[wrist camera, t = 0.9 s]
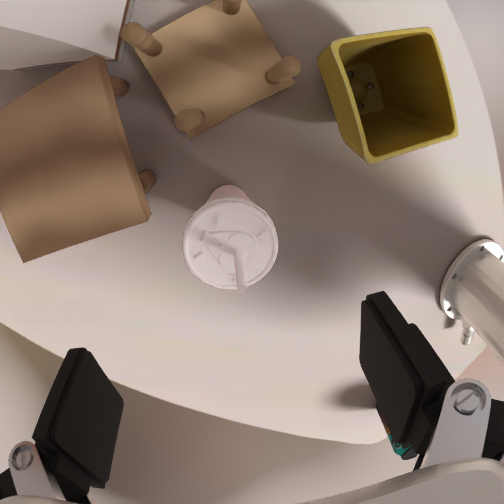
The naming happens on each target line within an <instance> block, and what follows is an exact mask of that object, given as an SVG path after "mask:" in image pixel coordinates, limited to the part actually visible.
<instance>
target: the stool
mask: <svg viewBox="0 0 504 504" xmlns="http://www.w3.org/2000/svg"><path fill="white" fill-rule="evenodd" d="M128 89H129V84H128V82H127V81H126V80H123V79H118V78H114V77H109V74H108V70H107V66H106V62H105V58H104V57H102V56H99V55H96V54H95V55H93V56H91V57H89V58H87V59H85V60H83V61H81V62H79V63H77V64H75V65H73V66H71V67H69V68H67V69H65V70H63V71H62V72H60V73H58V74H56V75H54V76H53V77H51V78H49V79H47V80H46V81H44V82H42V83H41V84H39V85H37V86H36V87H34V88H32V89H31V90H29V91H28V92H26V93H24V94H23V95H21V96H20V97H18V98H17V99H15V100H14V101H12V102H11V103H9V104H8V105H7V106H5V107H4V108H2V109H1V110H0V212H1V214H2V217H3V219H4V221H5V224H6V226H7V229H8V231H9V233H10V235H11V238H12V240H13V242H14V244H15V246H16V249H17V251H18V253H19V255H20V257H21V259H22V261H23V263H25V262H28V261H31V260H33V259H36V258H39V257H42V256H44V255H47V254H50V253H53V252H56V251H58V250H61V249H64V248H67V247H70V246H73V245H76V244H79V243H82V242H85V241H88V240H91V239H94V238H97V237H100V236H103V235H106V234H109V233H112V232H115V231H119V230H122V229H125V228H128V227H131V226H135V225H138V224H141V223H144V222H147V221H148V219H149V217H150V216H151V214H152V213H151V210H150V208H149V205H148V202H147V199H146V196H145V194H146V193H147V192H148V191H149V189H150V188H151V187H152V186H153V185H154V183H155V182H156V175H155V173H154V172H153V171H151V170H145V171H143V172H142V173H141V174H139V175H138V173H137V170H136V167H135V164H134V161H133V158H132V154H131V151H130V148H129V145H128V142H127V138H126V135H125V132H124V128H123V125H122V122H121V118H120V115H119V111H118V108H117V104H116V101H115V97H114V96H123V95H125V94H126V93H127V92H128Z"/></svg>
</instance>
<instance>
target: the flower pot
mask: <svg viewBox="0 0 504 504" xmlns="http://www.w3.org/2000/svg"><path fill="white" fill-rule="evenodd" d="M317 63H318V67H319V70H320V73H321V75H322V78H323V81H324V84H325V87H326V89H327V92H328V95H329V98H330V101H331V104H332V107H333V111H334V114H335V117H336V120H337V124H338V127H339V131H340V133H341V136H342V138H343V140H344V142H345V143H346V144H347V145H348V146H349V147H350V148H351V149H352V150H353V151H354V152H356V153H357V154H358V155H359V156H360V157H361V158H363V159H364V160H365V161H366V162H367V163H369V164H375V163H378V162H382V161H384V160H387V159H390V158H393V157H396V156H399V155H402V154H404V153H408V152H411V151H414V150H417V149H420V148H423V147H427V146H430V145H433V144H436V143H440V142H443V141H446V140H450V139H452V138H455V137H457V136H458V124H457V117H456V111H455V106H454V102H453V97H452V93H451V88H450V84H449V81H448V77H447V73H446V69H445V65H444V62H443V59H442V55H441V51H440V48H439V45H438V42H437V39H436V37H435V35H434V32H433V30H432V29H431V28H429V27H419V28H409V29H401V30H393V31H385V32H378V33H371V34H364V35H357V36H351V37H346V38H341V39H337V40H334V41H333V42H331V43H330V44H329V45H328V46H327V47H326V48H325V49H324V50H323V51H322V52H321V53H320V55H319V56H318V60H317ZM349 71H351V72H352V73H353V76H352V77H349V76H348V72H349ZM368 84H372V86H373V88H372V89H369V88H368ZM359 103H361V104H362V105H363V108H362V109H359V108H358V104H359Z"/></svg>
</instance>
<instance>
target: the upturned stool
mask: <svg viewBox="0 0 504 504" xmlns="http://www.w3.org/2000/svg"><path fill="white" fill-rule="evenodd" d="M120 35H121V38H122V39H123V40H124V41H126V42H128V43H129V44H131V45H133V48H134V50H135V51H136V53H137V54H138V56H139V58H140V59H141V61H142V62H143V64H144V66H145V67H146V69H147V71H148V72H149V74H150V75H151V77H152V79H153V80H154V82H155V84H156V85H157V87H158V88H159V90H160V92H161V93H162V95H163V97H164V98H165V100H166V101H167V103H168V105H169V106H170V108H171V110H172V111H173V113H174V114H175V116H176V117H175V125H176V127H177V128H178V129H179V130H180V131H183V132H186V134H187V136H188V137H189V139H192V138H193V137H195V136H197V135H198V134H200V133H202V132H204V131H205V130H207V129H209V128H211V127H212V126H214V125H216V124H218V123H219V122H221V121H223V120H225V119H227V118H228V117H230V116H232V115H234V114H236V113H238V112H240V111H242V110H243V109H245V108H247V107H249V106H251V105H253V104H255V103H257V102H259V101H261V100H263V99H265V98H267V97H269V96H271V95H273V94H275V93H277V92H279V91H281V90H284V89H286V88H288V87H290V86H292V85H294V84H296V83H295V81H294V79H293V77H294V76H296V75H298V74H299V73H300V71H301V63H300V61H299V60H298V59H297V58H295V57H293V56H286V57H284V58H281V56H280V54H279V53H278V51H277V49H276V48H275V46H274V44H273V43H272V41H271V39H270V38H269V36H268V34H267V33H266V31H265V30H264V28H263V26H262V25H261V23H260V22H259V20H258V18H257V17H256V15H255V14H254V12H253V11H252V9H251V8H250V6H249V5H248V3H247V2H246V0H214V1H212V2H210V3H208V4H206V5H204V6H202V7H199V8H197V9H196V10H194V11H192V12H190V13H188V14H186V15H184V16H182V17H180V18H178V19H177V20H175V21H173V22H171V23H169V24H168V25H166V26H164V27H163V28H161V29H159V30H157V31H156V32H154V33H153V34H150V33H149V32H148V31H146V30H145V29H144V28H143V27H142V26H141V25H140V24H139V23H137V22H130V23H127V24H126V25H125V26H124V27H123V28H122V29H121V33H120Z"/></svg>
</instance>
